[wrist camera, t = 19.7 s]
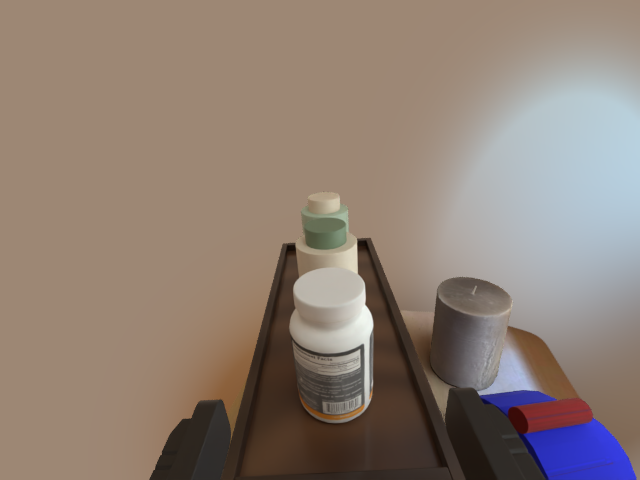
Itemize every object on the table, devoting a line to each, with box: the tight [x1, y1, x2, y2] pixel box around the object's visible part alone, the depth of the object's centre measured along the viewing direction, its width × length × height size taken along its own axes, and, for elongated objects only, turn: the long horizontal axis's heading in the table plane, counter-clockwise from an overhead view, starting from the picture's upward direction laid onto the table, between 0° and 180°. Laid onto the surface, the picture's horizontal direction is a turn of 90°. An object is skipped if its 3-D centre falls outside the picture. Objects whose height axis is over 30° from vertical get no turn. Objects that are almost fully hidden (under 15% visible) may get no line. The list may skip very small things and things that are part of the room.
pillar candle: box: [430, 277, 512, 391], centre depth 45 cm, size 10×10×15 cm
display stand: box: [221, 238, 466, 480], centre depth 36 cm, size 34×14×20 cm, turn 0°
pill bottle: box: [289, 267, 373, 423], centre depth 21 cm, size 6×6×10 cm
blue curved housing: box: [480, 390, 636, 480], centre depth 29 cm, size 12×12×15 cm
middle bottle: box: [295, 218, 358, 278], centre depth 31 cm, size 6×6×10 cm
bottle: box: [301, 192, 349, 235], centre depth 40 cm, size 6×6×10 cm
